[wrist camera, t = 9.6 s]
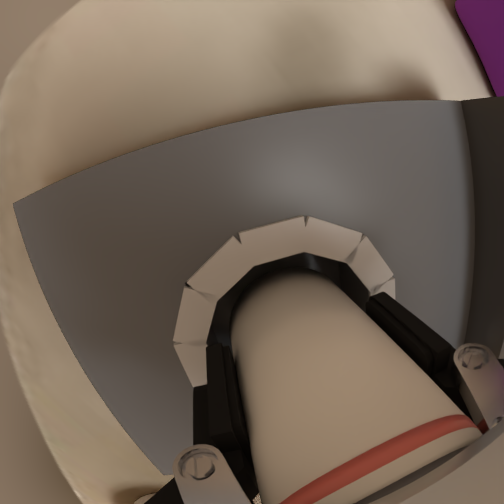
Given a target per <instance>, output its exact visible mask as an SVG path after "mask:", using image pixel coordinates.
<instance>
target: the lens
mask: <svg viewBox="0 0 504 504" xmlns="http://www.w3.org/2000/svg"><path fill="white" fill-rule="evenodd" d="M229 332H230V339H231V345H232V351H233V357H234V362H235V366H236V372H237V378H238V384H239V389H240V395H241V400H242V406H243V411H244V417H245V422H246V427H247V432H248V437H249V442H250V448H251V455H252V460H253V465H254V470H255V475H256V480H257V484H258V489H259V494H260V498H261V503H262V504H369V503H371V502H373V501H375V500H378V499H380V498H382V497H384V496H386V495H388V494H390V493H393V492H395V491H397V490H399V489H400V488H402V487H404V486H406V485H408V484H410V483H412V482H414V481H415V480H417V479H419V478H421V477H422V476H424V475H426V474H428V473H429V472H431V471H433V470H434V469H436V468H437V467H439V466H441V465H442V464H444V463H445V462H447V461H448V460H450V459H451V458H453V457H454V456H456V455H457V454H459V453H460V452H461V451H463V450H464V449H466V448H467V447H468V446H470V445H471V444H472V443H474V442H475V441H476V440H478V439H479V438H480V437H482V436H483V434H482V433H481V430H480V429H479V428H478V427H477V426H476V425H475V424H474V423H473V422H472V420H471V419H470V418H469V417H468V416H466V415H465V414H464V413H463V412H462V411H461V410H460V409H459V408H458V407H457V406H456V405H455V404H454V403H453V401H452V400H451V399H450V398H449V397H448V396H447V395H446V394H445V393H444V392H443V391H442V390H441V389H440V388H439V387H438V386H437V385H436V384H435V383H434V382H433V380H432V379H431V378H430V377H429V376H428V375H427V374H426V373H425V372H424V371H423V370H422V369H421V368H420V367H419V366H418V365H417V364H416V363H415V362H414V361H413V360H412V359H411V358H410V357H409V356H408V355H407V354H406V353H405V352H404V351H403V350H402V349H401V348H400V347H399V346H398V345H397V344H396V343H395V342H394V341H393V340H392V339H391V338H390V337H389V336H388V335H387V334H386V333H385V332H384V331H383V330H382V329H381V328H380V327H379V326H378V325H377V324H376V323H375V322H374V321H373V320H372V319H371V318H370V317H369V316H368V315H367V314H366V313H365V312H364V311H363V310H362V309H361V308H360V307H359V306H358V305H356V304H355V303H354V302H353V301H352V300H351V299H350V298H349V297H348V296H347V295H346V294H345V293H344V292H343V291H342V290H341V289H340V288H339V287H338V286H337V285H336V284H335V283H333V282H332V281H331V280H330V279H329V278H328V277H327V276H325V275H324V274H322V273H320V272H318V271H316V270H313V269H310V268H305V267H285V268H281V269H277V270H274V271H271V272H268V273H266V274H264V275H262V276H261V277H259V278H258V279H256V280H254V281H253V282H252V283H251V284H250V285H248V286H247V287H246V288H245V290H244V291H243V292H242V293H241V294H240V296H239V297H238V298H237V300H236V302H235V304H234V306H233V309H232V311H231V315H230V320H229Z"/></svg>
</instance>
